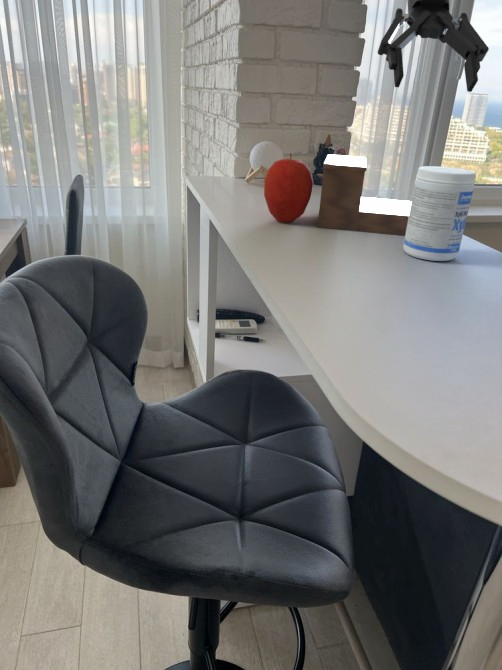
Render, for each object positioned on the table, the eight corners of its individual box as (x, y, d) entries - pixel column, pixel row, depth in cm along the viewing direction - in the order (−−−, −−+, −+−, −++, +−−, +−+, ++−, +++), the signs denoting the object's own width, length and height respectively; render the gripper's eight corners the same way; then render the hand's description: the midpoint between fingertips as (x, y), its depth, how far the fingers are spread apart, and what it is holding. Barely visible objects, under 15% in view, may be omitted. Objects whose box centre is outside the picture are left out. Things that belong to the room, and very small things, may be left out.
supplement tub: (458, 266, 85) (480, 176, 79) (400, 258, 88) (417, 170, 81) (455, 250, 94) (475, 168, 87) (403, 244, 96) (418, 163, 90)
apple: (314, 227, 104) (321, 156, 98) (266, 226, 103) (271, 154, 97) (303, 215, 113) (309, 150, 107) (259, 214, 112) (262, 148, 106)
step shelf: (414, 219, 116) (425, 161, 110) (421, 237, 101) (435, 172, 96) (321, 210, 119) (327, 154, 113) (316, 227, 104) (323, 163, 99)
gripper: (480, 19, 103) (492, 103, 96) (359, 11, 102) (363, 95, 95) (499, -17, 96) (514, 71, 89) (369, -26, 95) (374, 62, 88)
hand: (436, 84), depth 92 cm, fingers open, 13 cm apart
